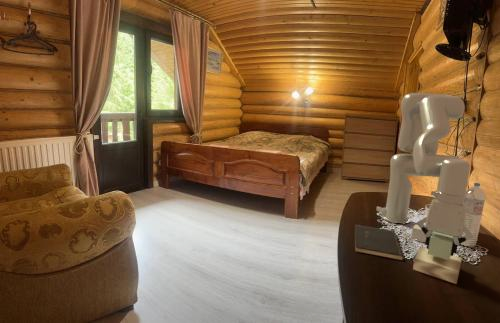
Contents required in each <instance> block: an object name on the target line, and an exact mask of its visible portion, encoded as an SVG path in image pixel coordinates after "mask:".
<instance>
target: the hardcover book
mask: <svg viewBox="0 0 500 323" xmlns="http://www.w3.org/2000/svg"><path fill="white" fill-rule="evenodd" d="M397 237H398V236H397V234H396V232H395V230H392V229H391V230H390V229H385V228H379V227H374V226H373V227H372V226H366V225H361V224H354V248H355V252H359V253H363V254H364V253H365V254H370V255H374V256H379V257H385V258H389V259H395V260H400V261H404V256H403V253H402V249H401V246H400V243H399V239H398V238H397Z"/></svg>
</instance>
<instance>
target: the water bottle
mask: <svg viewBox="0 0 500 323" xmlns="http://www.w3.org/2000/svg"><path fill="white" fill-rule="evenodd" d="M480 186H481V183H479V182H474V183H473V186H471V187H469V188H467V189H466V193H465V198H464V203H463V204H465V205H466V218H465V226H466V227H467V228H468V229H469V231H470V232H471V233H472V234H473V238H471V239H469V240H466V241H465V242H463V243H460V244H461V245H460V244H459V245H460V246H463V245H464V246H463V247H466V246H469V247H468V248H474V247H475V246H476V245H477V241H478V237H479V232H480V229H481V228H480V227H481V222H482V217H483V210H484V207H485V201H486V199H487V194H486V193H485V191H484V190H483V189H482V188H481V187H480ZM465 235H466V234H465V232H464V231H463V234H462V236H465ZM462 236H461V237H462ZM459 238H460V237H459Z"/></svg>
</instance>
